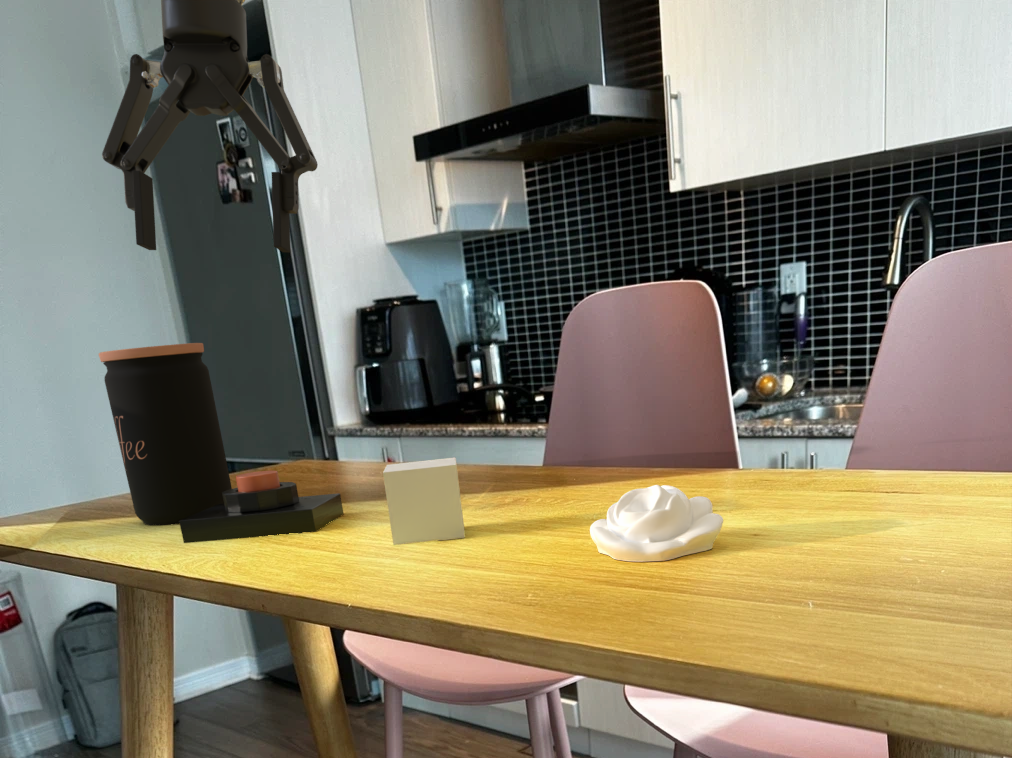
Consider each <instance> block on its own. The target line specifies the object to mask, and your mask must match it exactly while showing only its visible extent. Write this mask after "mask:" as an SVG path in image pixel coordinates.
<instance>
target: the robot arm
mask: <svg viewBox="0 0 1012 758" xmlns="http://www.w3.org/2000/svg"><path fill="white" fill-rule="evenodd" d="M245 2H246V0H160V6H161V7H160V9H161V10H160V11H161V28H162V29H161V30H162V41H163V42H162V43H163V48H164V49H163V56H162V59H161V61H159V60H152V59H145V58H144V57H142V56H141V55H140V54H138V53H135V54H132V55H131V57H130V60H129V80H128V83H127V86H126V87H125V91H124V93H123V95H122V98H121V102H120V104H119V107H118V110H117V112H116V115H115V117H114V119H113V123H112V125H111V128H110V131H109V133H108V136H107V139H106V142H105V144H104V147H103V150H102V153H101V156H102V159H103V161H105V162H106V163H107V164H109V165H111V166H113V167H114V168H115V169H117V170H120V171H122V174H123V185H124V187H123V188H124V203H125V205H126V207H127V209H129V210H131V211H133V212H134V226H135V242H136V245H137V246H139V247H141V248H143V249H146V250H148V251H157V237H156V217H155V202H154V201H155V198H154V180H153V178H152V177H151V176H150V175H148V174H146V172H147V170H148V169H149V167H150V166H151V164H152V163H153V162H154V160H155V159H156V157H157V155H158V154H159V153H160V151H161V150H162V149H163V147H164V146H165V144H166V143H167V141H168V140H169V138H170V137H171V135H172V134H173V133H174V131H175V130H176V129H177V127H178V125H179V124H180V123H181V122H183V121H185V120H186V119H187V118H188V116H189V115H190V113H191V114H194V115H195V116H198V117H199V116H200V117H201V116H202V117H203V116H204V117H206V116H208V115H211V114H212V115H213V114H214V115H217V116H219V117H228V116H229V114H230V113H232V112H233V111H234V112H236V114H237V115H238V116H239V118H241V120H242V121H243V122H244V124H245V125H246V126H247V128H248V129H249V130H250V132H251V133H252V134H253V135H254V137H255V138H256V140H257V141H258V142H259V143H260V144H261V146H262V147H263V149H264V150H265V151H266V152H267V153H268V155H269V157H270V158H272V160H273V161H274V163H275V164H276V165H277V167H278V168H279V169H280V171H271V200H272V201H271V203H272V207H271V208H272V234H273V235H272V236H273V248H275V249H277V250H278V251H280V252H282V253H291V228H290V227H291V226H290V224H291V223H290V214H293V215H295V214H298V212H299V209H300V202H299V201H300V198H299V194H300V193H299V179H300V177H301V175H303V174H305V173H307V172H315V171H316V170H317V169H318V161H317V158H316V157H315V154H314V152H313V150H312V147H311V145H310V144H309V141H308V140H307V136H306V135H305V132H304V130H303V129H302V126H301V124H300V122H299V119H298V117H297V114H296V113H295V110H294V108H293V107H292V104H291V102H290V100H289V97H288V96H287V93H286V91H285V89H284V88H285V86H284V79H283V72H282V68H281V67H280V65H279V63H277V62H276V60H275V59H274V58H273V57H272V55H270V54H267V53H266V54H263V55H261V57H260V59H259V60H254V61H253V60H252V61H249V59H248V34H247V33H248V32H247V30H248V29H247V12H246V10H245V8H244V6H243V5H244V4H245ZM162 78H163V79H164V81H165V82H166V83H167V86H166V88H165V89H164V91H163V92H162V94H161V96H160V97H159V99H158V105H157V106H156V108H155V110H154V111H153V112H152V114H151V115H150V116H149V118H148V120H147V121H146V123H145V124H144V126H143V127H142V124H143V121H144V119H145V116H146V114H147V111H148V109H149V105H150V103H151V100H152V97H153V93H154V89H155V88H157V87H158V86H159V81H160V79H162ZM253 78H255V79H256V81H257V84H258V85H260V87H262V88H263V89H265V92H266V94H267V96H268V98H269V100H270V103H271V105H272V107H273V109H274V111H275V114H276V115H277V117H278V120H279V122H280V124H281V126H282V128H283V130H284V133H285V136H286V137H287V139H288V141H289V143H290V146H291V148H292V151H293V152H294V154H295V155H293V156H290V155H289V154H288V152H287V151H286V150H285V149H284V147H283V146H282V145H281V144H280V142H279V140H277V138H276V137H275V136H274V134H273V133H272V132H271V130H270V129H269V128H268V126H267V125H266V124H265V123H264V122H263V120H262V119H261V118H260V116H259V115H258V113H257V112H256V110H255V109H254V108H253V107H252V105H251V104H250V103H249V101H248V100H247V98H245V96H244V94H245V92H246V91H247V89H248V87H249V86H250V84H251V82H252V81H253ZM141 127H142V128H141ZM140 129H141V130H140Z"/></svg>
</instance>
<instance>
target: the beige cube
mask: <svg viewBox="0 0 1012 758" xmlns="http://www.w3.org/2000/svg"><path fill="white" fill-rule="evenodd" d="M382 477H383V484H384V490H385V491H384V492H385V498H386V504H387V510H388V517H389V525H390V531H391V539H392V545H393V546H395V545H405V544H413V543H415V544H416V543H422V542H423V543H424V542H432V541H446V540H447V541H448V540H456V539H457V540H458V539H465V538H466V534H465V523H464V515H463V507H462V499H461V489H460V484H459V483H460V482H459V473H458V465H457V458H456V457H445V458H437V459H429V460H420V461H419V460H418V461H410V462H409V461H407V462H400V463H399V462H398V463H390V464H386V465H385V468H384V470H383V472H382Z"/></svg>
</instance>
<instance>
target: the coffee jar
mask: <svg viewBox="0 0 1012 758" xmlns="http://www.w3.org/2000/svg"><path fill="white" fill-rule="evenodd" d="M204 352H205V348H204V343H203V342H190V343H176V344H164V345H153V346H152V345H151V346H141V347H131V348H122V349H114V350H113V349H112V350H107V351H100V352H99V353H98V357H99V361H100V362H101V363H103V365H104V366H105V367H106V370H107V371H106V373H105V375H104V383H105V384H104V385H105V389H106V393H107V397H108V402H109V406H110V407H109V408H110V410H111V415H112V420H113V422H114V423H113V424H114V427H115V432H116V436H117V441H118V446H119V449H120V453H121V458H122V462H123V466H124V471H125V475H126V479H127V485H128V488H129V493H130V497H131V501H132V506H133V510H134V514H135V515H136V517H137V518H138V519H139V520H141V521H142V523H143V524H144V525H145V526H152V527H153V526H156V527H157V526H171V524H173V525H180V524H179V521H180V520H182V519H184V518H187V517H189V516H192V515H194V514H196V513H199V512H201V511H203V510H206V509H208V508H211V507H213V506H215V505H218V504H224V500H223V495H222V492H224V491H227V490H229V489H233V487H232V482H231V477H230V472H229V468H228V463H227V462H228V461H227V458H226V457H227V456H226V451H225V447H224V442H223V436H222V432H221V426H220V421H219V417H218V412H217V411H218V410H217V405H216V401H215V396H214V391H213V386H212V381H211V376H210V371H209V368H208V366H207V365H206V364H205V363H204V362H203V360H202V357H203V353H204Z"/></svg>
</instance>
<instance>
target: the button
mask: <svg viewBox="0 0 1012 758" xmlns="http://www.w3.org/2000/svg"><path fill="white" fill-rule="evenodd" d="M235 481H236V482H235V483H236V488H238V492H248V491H258V490H265V489H272V488H276V487H280V483H279V482H280V477H279V472H278V471H277V470H260V471H253V472H246V473H241V474H237V475H236V476H235Z"/></svg>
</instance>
